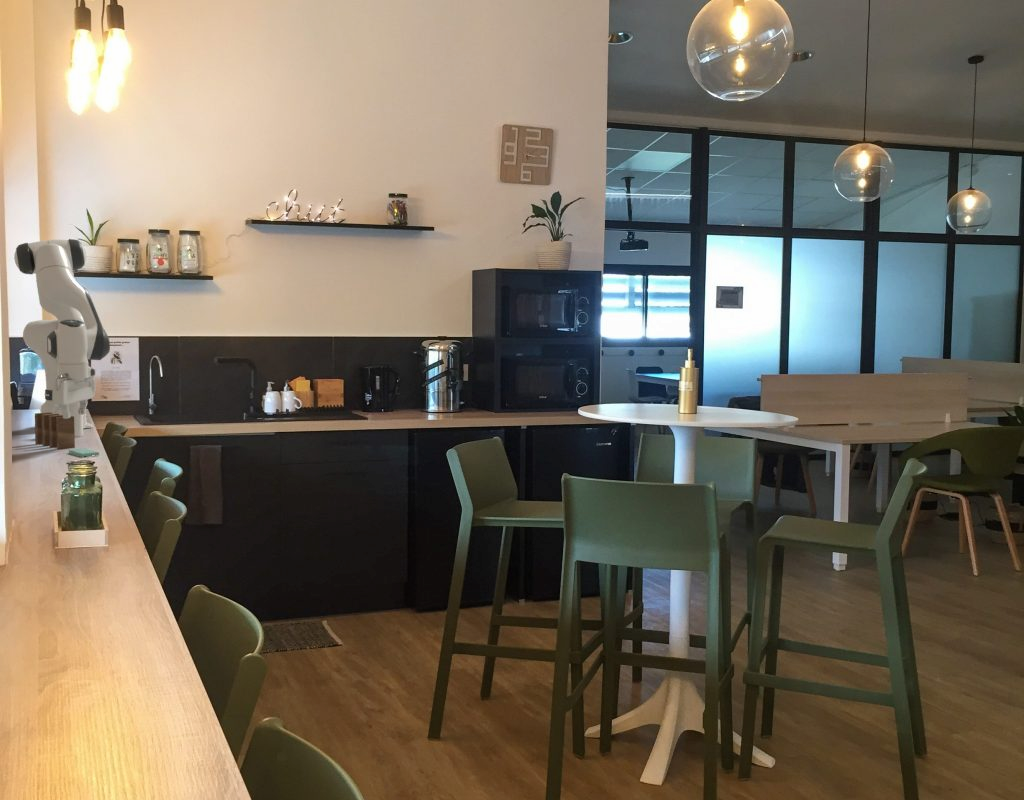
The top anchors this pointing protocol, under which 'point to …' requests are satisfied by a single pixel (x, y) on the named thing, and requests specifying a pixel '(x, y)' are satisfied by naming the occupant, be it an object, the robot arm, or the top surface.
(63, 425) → the domino
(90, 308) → the robot arm
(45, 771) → the top surface
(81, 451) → the domino
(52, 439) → the domino
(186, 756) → the top surface
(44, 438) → the domino
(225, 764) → the top surface
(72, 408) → the mug
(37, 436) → the domino
